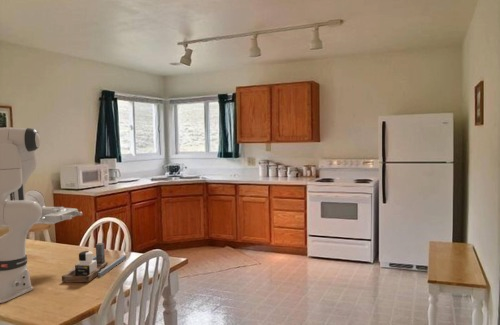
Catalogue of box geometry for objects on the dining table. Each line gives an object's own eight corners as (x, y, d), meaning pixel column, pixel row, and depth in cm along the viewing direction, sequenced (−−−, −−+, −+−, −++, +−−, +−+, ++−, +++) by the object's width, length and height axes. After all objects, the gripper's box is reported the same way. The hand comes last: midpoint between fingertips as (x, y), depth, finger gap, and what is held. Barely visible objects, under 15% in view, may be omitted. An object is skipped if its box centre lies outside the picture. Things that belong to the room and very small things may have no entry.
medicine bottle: (75, 279, 182) (74, 254, 181) (83, 274, 189) (82, 249, 188) (89, 279, 181) (88, 254, 180) (97, 274, 188) (96, 250, 187)
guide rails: (100, 276, 185) (100, 272, 184) (68, 276, 186) (68, 271, 186) (126, 258, 213) (126, 254, 213) (98, 257, 215) (98, 254, 215)
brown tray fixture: (87, 282, 177) (86, 258, 176) (61, 281, 178) (61, 257, 177) (113, 264, 202) (112, 243, 202) (90, 263, 204) (90, 242, 203)
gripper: (38, 213, 192) (64, 213, 191) (62, 206, 212) (86, 206, 211) (38, 225, 192) (65, 226, 191) (63, 217, 213) (87, 217, 211)
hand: (76, 215), depth 201 cm, fingers open, 8 cm apart
